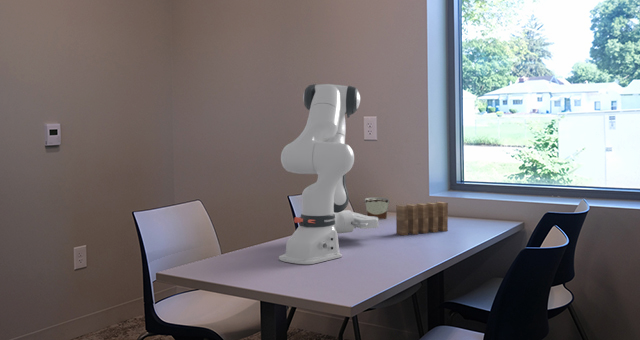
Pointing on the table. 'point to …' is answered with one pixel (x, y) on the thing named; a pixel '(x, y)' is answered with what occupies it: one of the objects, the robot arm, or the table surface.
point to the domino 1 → (402, 220)
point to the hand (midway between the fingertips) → (376, 218)
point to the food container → (377, 207)
